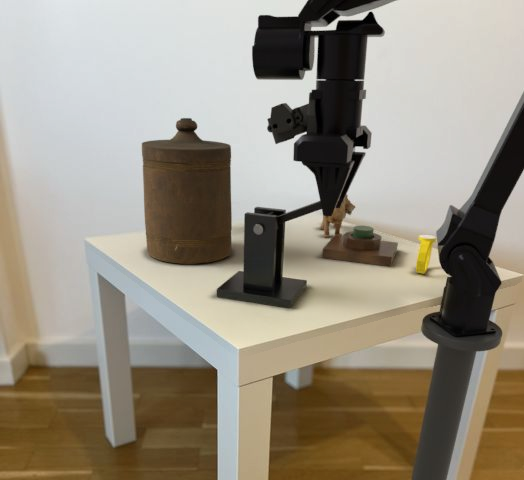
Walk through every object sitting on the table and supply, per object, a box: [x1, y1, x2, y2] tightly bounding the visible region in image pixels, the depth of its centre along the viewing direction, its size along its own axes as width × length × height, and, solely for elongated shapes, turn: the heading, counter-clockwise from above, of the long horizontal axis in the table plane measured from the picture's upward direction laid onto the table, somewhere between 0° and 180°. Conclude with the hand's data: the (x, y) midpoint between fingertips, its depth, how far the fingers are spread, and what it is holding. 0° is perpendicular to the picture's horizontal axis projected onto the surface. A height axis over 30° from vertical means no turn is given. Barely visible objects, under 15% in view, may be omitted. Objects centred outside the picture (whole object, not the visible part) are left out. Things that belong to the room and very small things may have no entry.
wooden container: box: [141, 117, 233, 265], centre depth 92 cm, size 15×15×22 cm
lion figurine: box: [318, 194, 356, 238], centre depth 111 cm, size 15×5×9 cm, turn 8°
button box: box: [321, 230, 399, 267], centre depth 99 cm, size 12×10×4 cm
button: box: [352, 225, 374, 239], centre depth 98 cm, size 4×4×2 cm
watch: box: [415, 234, 437, 275], centre depth 90 cm, size 6×3×6 cm, turn 156°
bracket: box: [216, 206, 308, 309], centre depth 78 cm, size 11×9×12 cm
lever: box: [267, 198, 340, 229], centre depth 74 cm, size 12×5×2 cm, turn 72°
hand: (331, 211), depth 72 cm, fingers closed on lever, 5 cm apart
